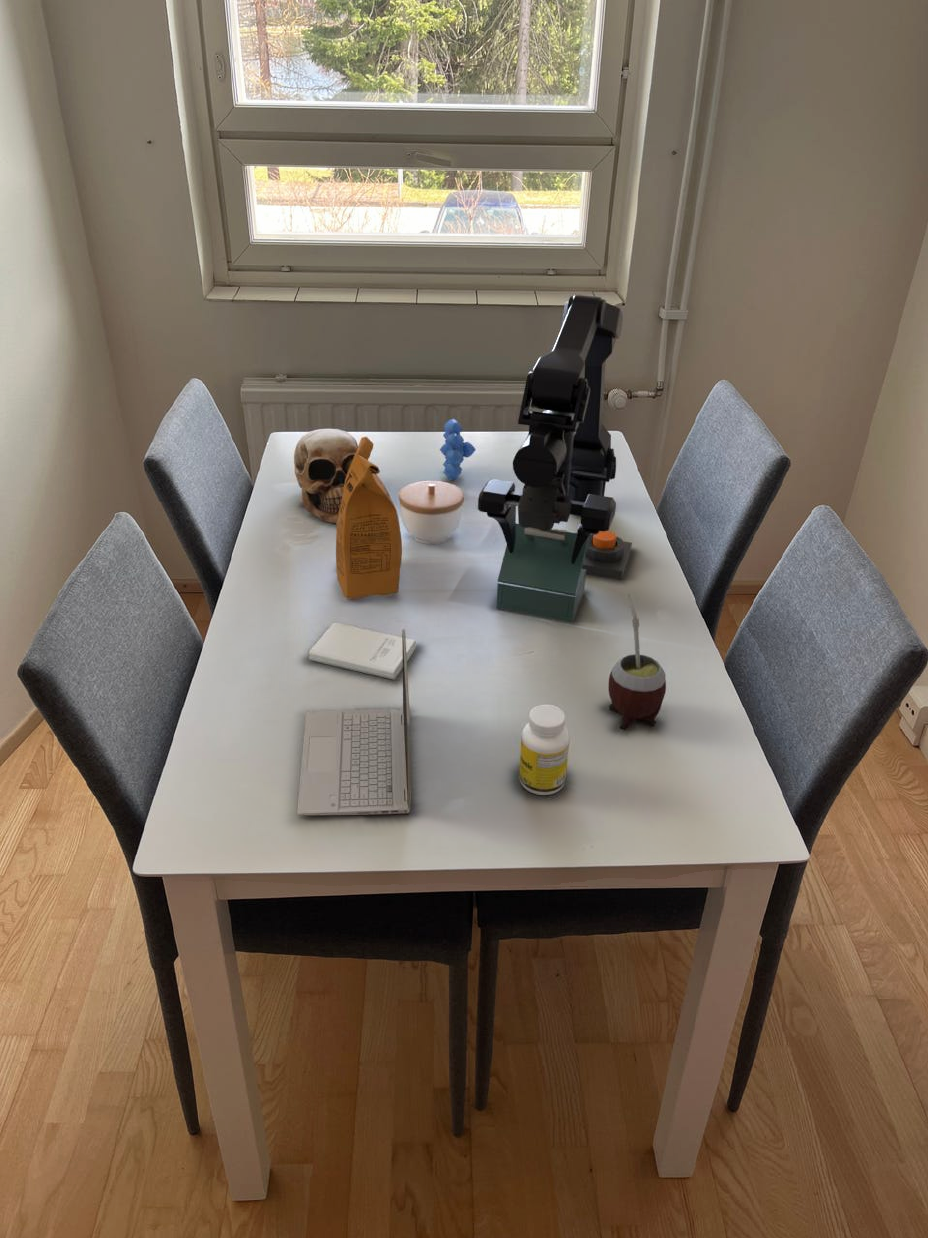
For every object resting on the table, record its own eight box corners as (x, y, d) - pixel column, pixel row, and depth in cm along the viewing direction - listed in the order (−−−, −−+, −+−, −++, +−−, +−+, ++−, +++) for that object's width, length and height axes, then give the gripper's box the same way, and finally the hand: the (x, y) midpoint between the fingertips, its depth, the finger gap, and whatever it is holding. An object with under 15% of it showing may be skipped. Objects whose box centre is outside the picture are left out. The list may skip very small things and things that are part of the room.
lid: (512, 524, 141) (509, 511, 137) (589, 536, 138) (587, 524, 134) (498, 582, 138) (493, 570, 134) (575, 595, 136) (573, 584, 132)
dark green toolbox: (511, 580, 148) (512, 556, 145) (583, 593, 145) (586, 569, 143) (496, 608, 141) (497, 583, 138) (572, 622, 138) (575, 597, 136)
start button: (594, 537, 154) (596, 528, 153) (616, 541, 153) (618, 532, 152) (590, 548, 151) (591, 538, 150) (613, 551, 150) (614, 542, 149)
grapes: (476, 492, 174) (479, 430, 167) (440, 492, 173) (441, 430, 167) (472, 466, 184) (474, 407, 177) (438, 466, 183) (438, 407, 177)
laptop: (306, 715, 118) (299, 629, 111) (406, 712, 119) (405, 627, 112) (297, 819, 103) (288, 727, 96) (411, 814, 104) (411, 723, 97)
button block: (583, 543, 158) (585, 525, 156) (630, 551, 156) (633, 532, 155) (571, 571, 150) (573, 552, 148) (621, 580, 148) (623, 561, 146)
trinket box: (465, 523, 163) (467, 473, 158) (459, 553, 154) (460, 501, 149) (404, 519, 164) (404, 469, 159) (394, 548, 155) (393, 496, 150)
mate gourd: (646, 741, 116) (664, 641, 108) (588, 719, 119) (601, 620, 111) (669, 710, 121) (687, 612, 113) (613, 689, 125) (627, 592, 116)
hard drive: (335, 630, 135) (416, 648, 131) (309, 661, 128) (393, 681, 125) (334, 620, 134) (416, 638, 131) (308, 652, 127) (393, 671, 124)
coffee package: (399, 560, 152) (397, 431, 140) (404, 601, 142) (402, 465, 130) (337, 562, 151) (330, 432, 139) (337, 603, 141) (329, 467, 128)
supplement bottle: (515, 765, 112) (520, 700, 106) (560, 764, 112) (567, 699, 107) (521, 798, 107) (527, 731, 102) (568, 796, 108) (576, 730, 102)
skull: (347, 528, 160) (339, 452, 154) (270, 512, 168) (259, 440, 162) (400, 498, 172) (394, 426, 165) (325, 484, 180) (317, 416, 174)
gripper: (468, 470, 124) (464, 572, 133) (608, 491, 120) (595, 596, 128) (491, 439, 133) (486, 537, 142) (622, 458, 129) (609, 558, 137)
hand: (542, 557), depth 137 cm, fingers open, 9 cm apart
